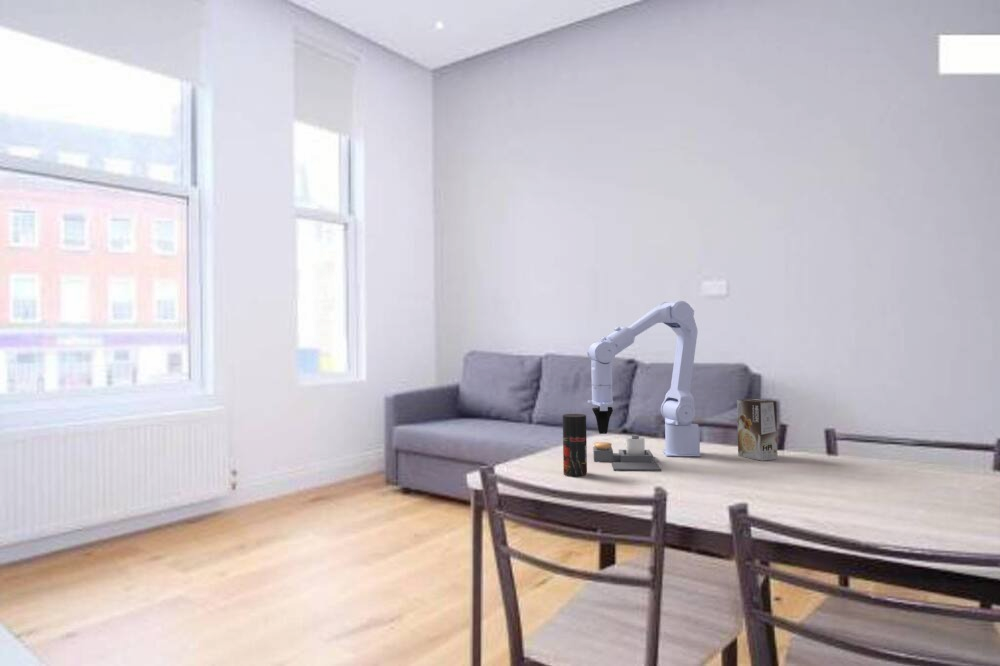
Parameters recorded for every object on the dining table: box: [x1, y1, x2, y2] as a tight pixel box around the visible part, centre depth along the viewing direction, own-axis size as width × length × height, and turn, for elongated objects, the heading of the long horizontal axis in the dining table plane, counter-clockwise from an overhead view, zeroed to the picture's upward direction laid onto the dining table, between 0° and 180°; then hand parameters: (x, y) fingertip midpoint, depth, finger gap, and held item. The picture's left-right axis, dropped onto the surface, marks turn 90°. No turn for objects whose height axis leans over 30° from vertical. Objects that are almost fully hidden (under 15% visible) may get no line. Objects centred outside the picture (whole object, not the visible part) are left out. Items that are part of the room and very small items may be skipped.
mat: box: [611, 461, 662, 472], centre depth 174 cm, size 12×8×1 cm, turn 84°
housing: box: [592, 446, 654, 463], centre depth 185 cm, size 16×9×3 cm, turn 84°
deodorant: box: [562, 413, 588, 478], centre depth 168 cm, size 6×6×15 cm
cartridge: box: [625, 434, 646, 455], centre depth 184 cm, size 5×5×7 cm
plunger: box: [593, 441, 613, 450], centre depth 185 cm, size 5×5×4 cm
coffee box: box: [736, 397, 779, 462], centre depth 185 cm, size 9×6×16 cm
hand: (602, 433), depth 185 cm, fingers closed
